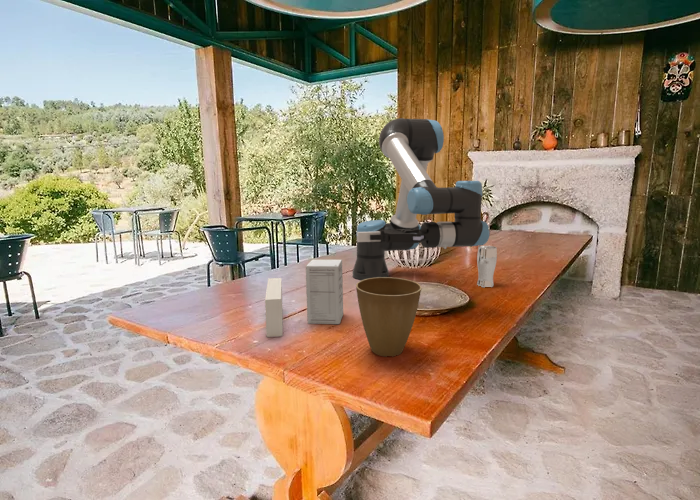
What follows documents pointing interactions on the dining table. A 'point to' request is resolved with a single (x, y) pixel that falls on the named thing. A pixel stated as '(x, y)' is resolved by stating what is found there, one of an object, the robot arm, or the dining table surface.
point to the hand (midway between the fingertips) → (357, 237)
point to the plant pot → (388, 312)
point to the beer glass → (486, 265)
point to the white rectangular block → (274, 307)
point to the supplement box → (324, 291)
